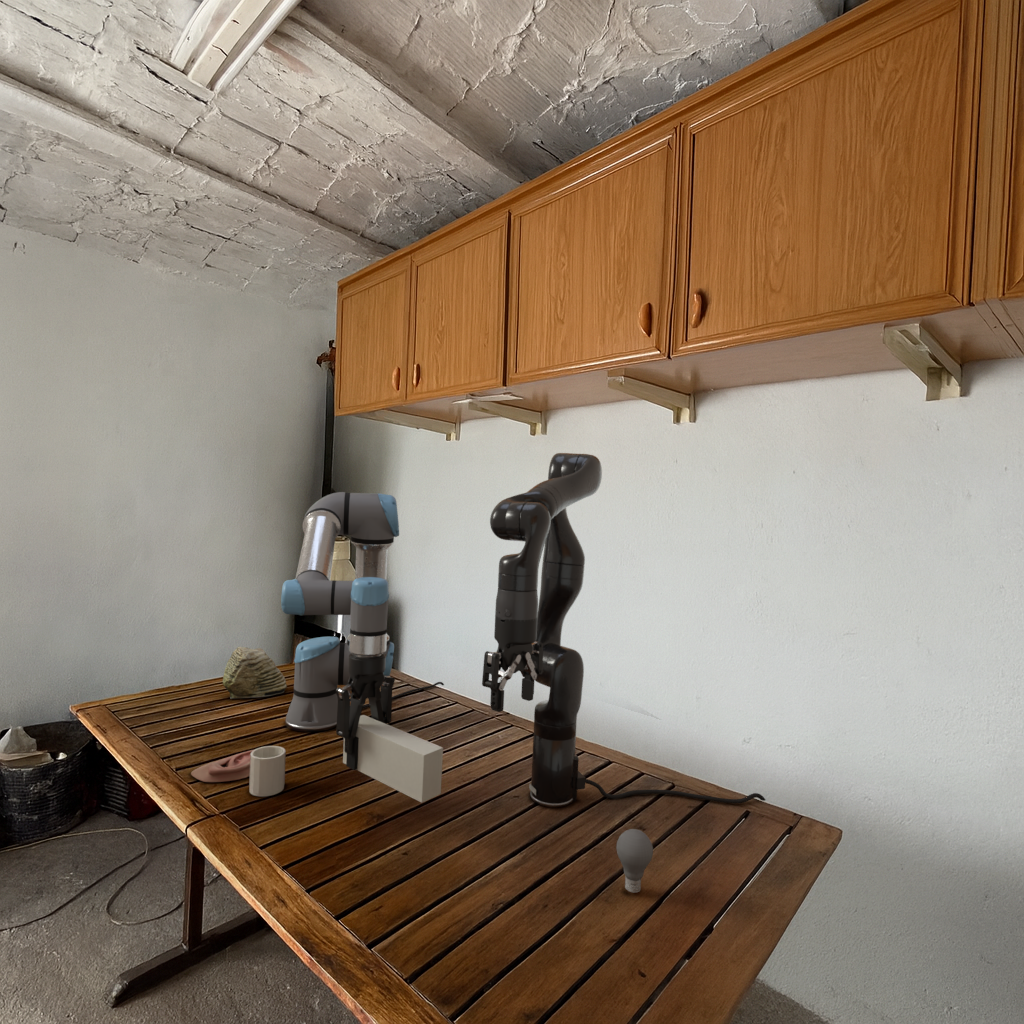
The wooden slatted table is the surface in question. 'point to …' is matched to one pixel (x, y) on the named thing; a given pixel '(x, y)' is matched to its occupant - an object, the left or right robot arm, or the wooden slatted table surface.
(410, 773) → the grey bar
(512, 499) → the right robot arm
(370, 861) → the wooden slatted table surface
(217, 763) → the anatomical model
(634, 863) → the light bulb
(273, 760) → the white cup
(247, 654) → the fossil
